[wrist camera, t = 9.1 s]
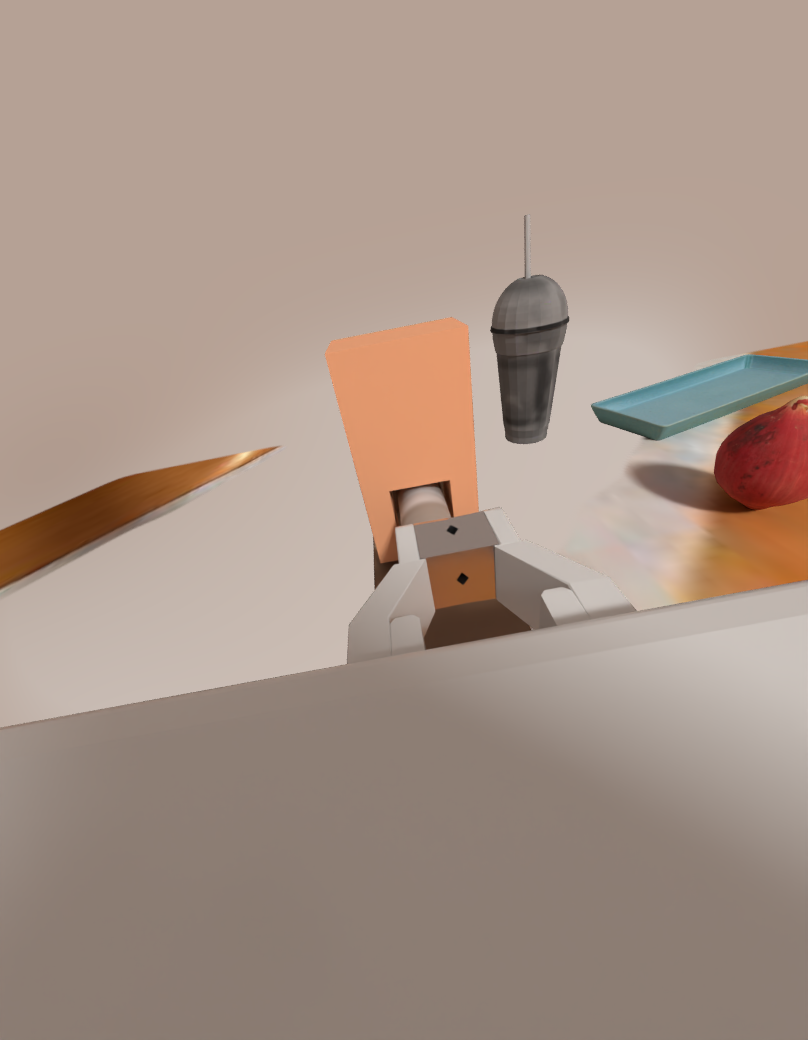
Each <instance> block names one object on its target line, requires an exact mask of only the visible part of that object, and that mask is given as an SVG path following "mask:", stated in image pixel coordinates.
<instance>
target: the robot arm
mask: <svg viewBox="0 0 808 1040" xmlns="http://www.w3.org/2000/svg"><path fill="white" fill-rule="evenodd" d="M413 525H414V527H413ZM414 531H415V532H414ZM395 534H396V543H397V552H398V561H399V564H395V565H393V566H392V568H391V569H390V570H389V572H388V573H387V575H386V576H385V577H384V579H383V580H382V581H381V583H380V584H379V585H378V587H377V588H376V589H375V591H374V592H373V593H372V595H371V596H370V597H369V599H368V600H367V601H366V603H365V604H364V605H363V607H362V608H361V609H360V611H359V612H358V614H357V615H356V616H355V618H354V619H353V620H352V622H351V623H350V624H349V634H348V652H347V653H348V654H347V664H346V665H340V666H335V667H329V668H324V669H319V670H313V671H308V672H303V673H297V674H291V675H286V676H280V677H275V678H270V679H264V680H259V681H253V682H248V683H242V684H237V685H231V686H226V687H220V688H215V689H209V690H204V691H198V692H193V693H187V694H182V695H177V696H171V697H166V698H160V699H154V700H149V701H143V702H138V703H133V704H127V705H122V706H116V707H111V708H105V709H100V710H94V711H89V712H83V713H78V714H72V715H67V716H61V717H56V718H51V719H45V720H39V721H34V722H29V723H23V724H17V725H12V726H7V727H1V728H0V1040H808V580H804V581H799V582H793V583H788V584H782V585H777V586H771V587H766V588H760V589H755V590H749V591H744V592H738V593H733V594H728V595H722V596H717V597H711V598H706V599H701V600H695V601H690V602H685V603H679V604H674V605H669V606H663V607H658V608H652V609H647V610H641V611H637V610H636V609H635V608H634V607H633V605H632V604H631V603H630V602H629V601H628V599H627V598H626V597H625V596H624V594H623V593H622V592H621V591H620V589H619V588H618V587H617V586H616V584H615V583H614V582H613V581H612V579H611V578H610V577H608V576H606V575H604V574H602V573H599V572H597V571H595V570H593V569H591V568H588V567H586V566H584V565H582V564H579V563H577V562H575V561H573V560H571V559H568V558H566V557H564V556H562V555H559V554H557V553H555V552H553V551H551V550H548V549H546V548H544V547H542V546H539V545H537V544H535V543H533V542H531V541H528V540H522V541H521V539H520V538H519V536H518V534H517V533H516V531H515V529H514V528H513V526H512V524H511V522H510V521H509V519H508V518H507V516H506V514H505V513H504V511H503V509H502V508H500V507H497V508H493V509H488V510H484V511H481V512H476V513H471V514H466V515H461V516H457V517H452V518H444V519H438V520H432V521H426V522H421V523H415V524H409V525H404V526H399V527H395ZM415 536H416V537H415ZM416 541H417V542H416ZM417 546H418V547H417ZM495 598H497V600H498V601H499V602H500V603H501V604H503V605H504V606H505V607H506V608H508V609H509V610H510V611H512V612H513V613H514V614H515V615H517V616H518V617H519V618H520V619H522V620H523V621H524V622H525V623H527V624H528V625H529V626H530V627H532V628H533V629H534V630H531V631H525V632H520V633H515V634H509V635H504V636H498V637H493V638H487V639H482V640H477V641H471V642H466V643H460V644H455V645H449V646H444V647H439V648H433V649H428V650H426V646H425V641H424V636H425V634H426V632H427V629H428V627H429V625H430V622H431V620H432V618H433V616H434V613H435V610H436V609H440V608H445V607H450V606H454V605H459V604H464V603H470V602H476V601H482V600H489V599H495Z"/></svg>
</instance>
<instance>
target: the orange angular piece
mask: <svg viewBox="0 0 808 1040" xmlns="http://www.w3.org/2000/svg"><path fill="white" fill-rule="evenodd" d="M468 335H469V333H468V326H467V325H466V324H464V323H462V322H460V321H458V320H456V319H454V318H452V317H450V318H445V319H440V320H435V321H430V322H425V323H420V324H415V325H410V326H404V327H399V328H394V329H389V330H384V331H379V332H374V333H369V334H364V335H359V336H353V337H348V338H343V339H338V340H333V341H331V343H330V345H329V347H328V349H327V350H326V353H325V356H326V360H327V364H328V367H329V371H330V375H331V379H332V383H333V386H334V390H335V394H336V398H337V402H338V405H339V409H340V413H341V416H342V420H343V424H344V427H345V432H346V435H347V439H348V443H349V446H350V450H351V454H352V457H353V462H354V465H355V469H356V472H357V476H358V480H359V484H360V488H361V491H362V495H363V499H364V503H365V506H366V510H367V514H368V517H369V521H370V525H371V529H372V533H373V537H374V540H375V544H376V548H377V552H378V555H379V559H380V563H385V562H391V561H396V560H398V552H397V543H396V534H395V527H399V521H398V517H397V512H396V507H395V502H394V498H393V493H392V491H394V490H399V489H404V488H410V487H415V486H420V485H426V484H431V483H437V482H442V481H443V490H444V498H445V501H446V504H447V507H448V510H449V513H450V516H451V518H452V517H457V516H461V515H466V514H471V513H476V512H479V510H478V509H479V507H478V490H477V473H476V456H475V438H474V421H473V403H472V387H471V369H470V350H469V336H468Z"/></svg>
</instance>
